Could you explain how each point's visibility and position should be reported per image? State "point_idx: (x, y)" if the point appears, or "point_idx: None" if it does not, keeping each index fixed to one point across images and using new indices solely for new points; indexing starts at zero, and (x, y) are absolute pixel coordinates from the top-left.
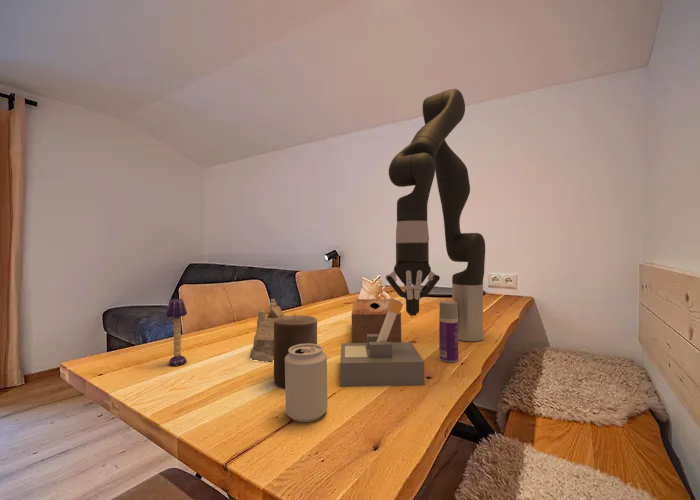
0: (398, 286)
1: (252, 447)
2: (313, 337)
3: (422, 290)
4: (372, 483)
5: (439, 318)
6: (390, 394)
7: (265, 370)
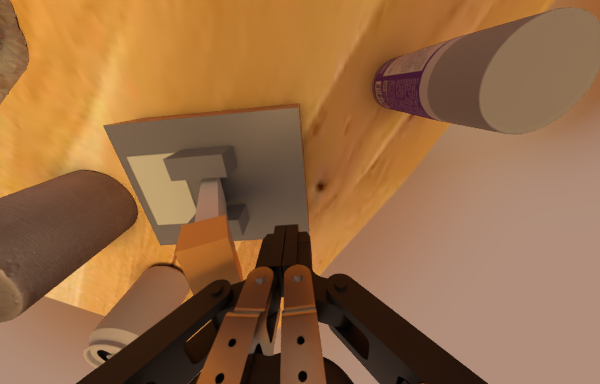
0: (194, 374)
1: None
2: (64, 270)
3: (341, 305)
4: None
5: (425, 79)
6: (257, 240)
7: (17, 166)
